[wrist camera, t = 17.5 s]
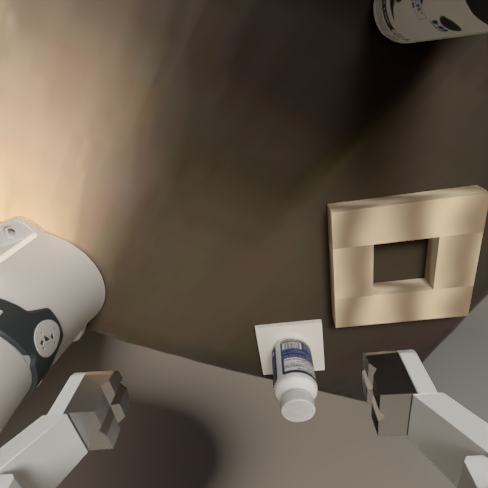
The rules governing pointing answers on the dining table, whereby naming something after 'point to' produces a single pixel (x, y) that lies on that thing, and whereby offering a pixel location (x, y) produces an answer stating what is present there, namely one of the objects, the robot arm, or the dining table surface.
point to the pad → (300, 329)
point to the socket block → (405, 229)
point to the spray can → (430, 19)
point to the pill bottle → (294, 378)
